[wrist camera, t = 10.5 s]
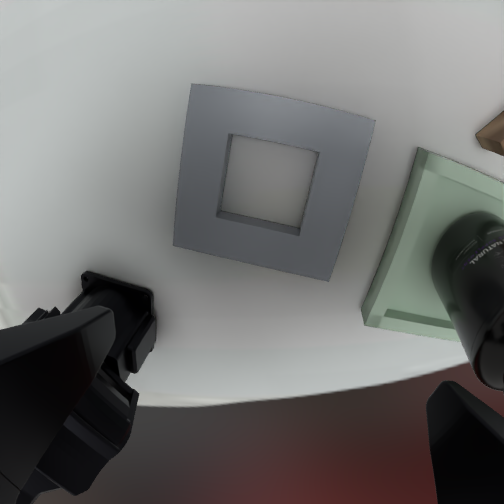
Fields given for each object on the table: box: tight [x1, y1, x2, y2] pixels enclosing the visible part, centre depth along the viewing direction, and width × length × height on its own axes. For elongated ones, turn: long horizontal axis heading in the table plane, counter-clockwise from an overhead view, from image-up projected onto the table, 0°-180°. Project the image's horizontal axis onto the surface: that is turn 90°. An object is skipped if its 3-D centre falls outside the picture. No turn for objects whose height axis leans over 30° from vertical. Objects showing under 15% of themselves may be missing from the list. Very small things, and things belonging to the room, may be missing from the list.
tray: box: [361, 147, 504, 342], centre depth 18 cm, size 12×12×2 cm
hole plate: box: [173, 84, 376, 282], centre depth 18 cm, size 10×10×1 cm
